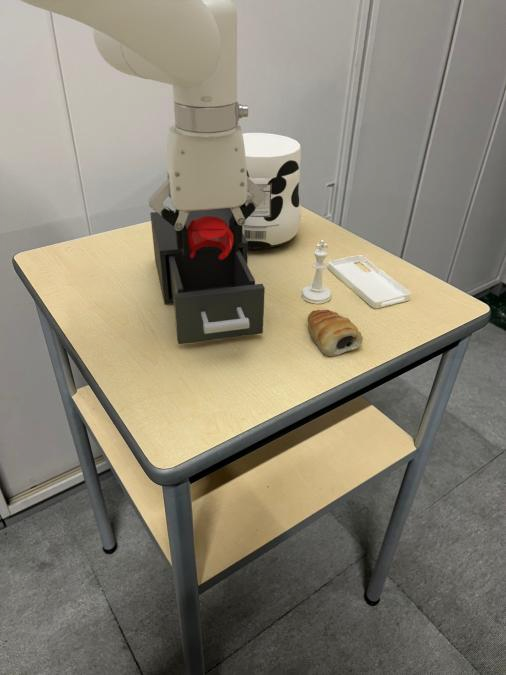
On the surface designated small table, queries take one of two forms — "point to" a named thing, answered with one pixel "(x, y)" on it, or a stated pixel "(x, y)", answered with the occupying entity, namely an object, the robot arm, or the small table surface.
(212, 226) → the red rounded lump
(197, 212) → the cabinet
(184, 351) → the small table surface
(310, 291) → the chess piece
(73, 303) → the small table surface
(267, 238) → the milk container
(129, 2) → the robot arm
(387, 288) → the phone case
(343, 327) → the pastry
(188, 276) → the drawer
